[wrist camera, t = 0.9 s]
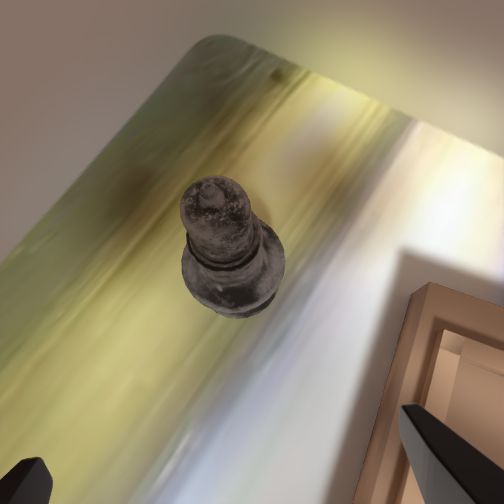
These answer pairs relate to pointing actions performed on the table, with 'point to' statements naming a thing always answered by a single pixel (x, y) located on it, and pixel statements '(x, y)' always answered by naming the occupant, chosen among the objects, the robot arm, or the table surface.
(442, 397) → the walnut plinth
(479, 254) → the table surface
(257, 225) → the antique pepper shaker
